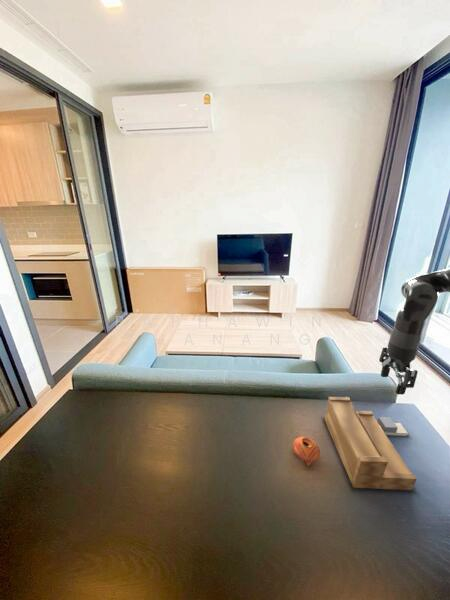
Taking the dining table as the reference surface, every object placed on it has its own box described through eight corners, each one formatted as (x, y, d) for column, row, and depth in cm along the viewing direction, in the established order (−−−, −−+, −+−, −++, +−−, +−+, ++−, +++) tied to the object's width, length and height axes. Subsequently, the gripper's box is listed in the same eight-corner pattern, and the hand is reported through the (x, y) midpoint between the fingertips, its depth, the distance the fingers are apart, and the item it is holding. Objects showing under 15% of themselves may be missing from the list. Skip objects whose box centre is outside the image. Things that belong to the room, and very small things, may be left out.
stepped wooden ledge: (368, 420, 89) (375, 397, 85) (412, 490, 67) (423, 463, 64) (324, 419, 90) (328, 396, 86) (353, 487, 68) (360, 461, 64)
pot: (289, 464, 74) (292, 443, 73) (293, 447, 81) (295, 428, 80) (317, 474, 71) (320, 453, 70) (319, 456, 78) (321, 437, 77)
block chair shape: (399, 425, 87) (401, 417, 86) (407, 435, 83) (410, 428, 82) (376, 424, 88) (378, 416, 86) (383, 435, 84) (385, 427, 82)
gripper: (433, 355, 69) (417, 400, 75) (401, 331, 82) (390, 371, 88) (406, 354, 69) (392, 400, 75) (378, 331, 82) (368, 371, 88)
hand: (391, 384), depth 81 cm, fingers open, 8 cm apart
